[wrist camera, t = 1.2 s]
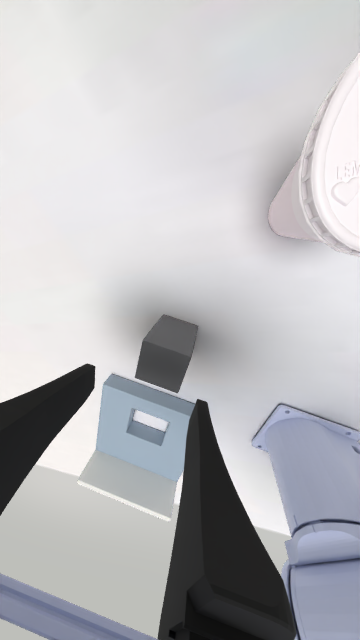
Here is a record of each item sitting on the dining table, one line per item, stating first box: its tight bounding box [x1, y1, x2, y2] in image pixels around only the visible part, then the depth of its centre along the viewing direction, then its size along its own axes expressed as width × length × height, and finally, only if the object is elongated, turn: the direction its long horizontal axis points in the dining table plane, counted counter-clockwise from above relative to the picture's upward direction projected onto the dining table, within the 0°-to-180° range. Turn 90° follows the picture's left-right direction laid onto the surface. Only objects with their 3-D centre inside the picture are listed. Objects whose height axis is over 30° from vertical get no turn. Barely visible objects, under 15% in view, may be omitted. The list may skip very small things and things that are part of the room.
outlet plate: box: [78, 374, 195, 522], centre depth 23 cm, size 14×16×6 cm
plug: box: [135, 315, 198, 393], centre depth 17 cm, size 4×4×6 cm
